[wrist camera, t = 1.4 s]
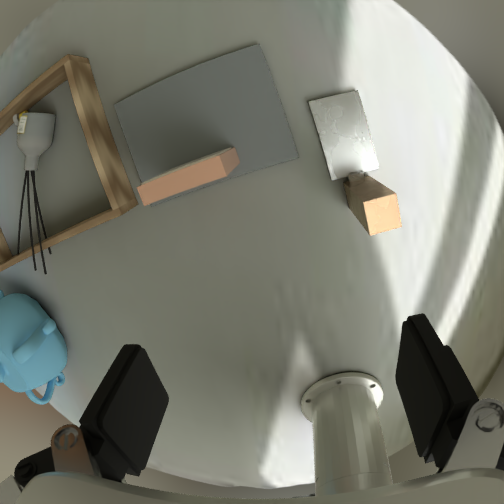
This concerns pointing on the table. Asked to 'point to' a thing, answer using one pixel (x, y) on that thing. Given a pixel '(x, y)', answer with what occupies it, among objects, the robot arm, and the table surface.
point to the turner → (354, 160)
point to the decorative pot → (29, 347)
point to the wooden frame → (96, 139)
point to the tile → (189, 175)
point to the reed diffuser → (33, 158)
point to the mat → (208, 118)
